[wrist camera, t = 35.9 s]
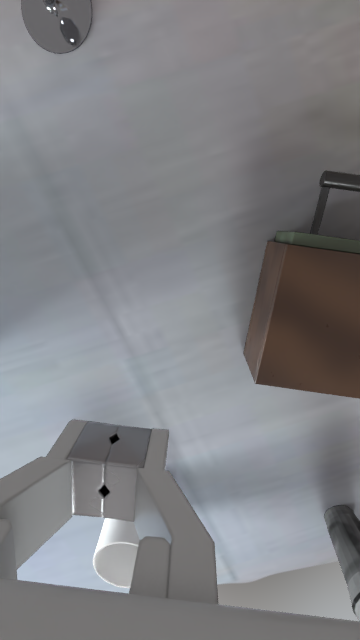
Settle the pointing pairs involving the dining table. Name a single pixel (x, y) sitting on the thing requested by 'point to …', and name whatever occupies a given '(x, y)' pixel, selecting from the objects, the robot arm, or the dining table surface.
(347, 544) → the beverage cup
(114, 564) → the mug
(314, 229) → the drawer
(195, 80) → the dining table surface
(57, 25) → the wine glass
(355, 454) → the dining table surface
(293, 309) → the cabinet
